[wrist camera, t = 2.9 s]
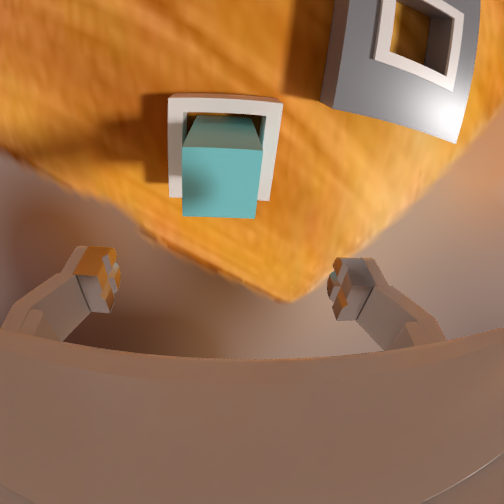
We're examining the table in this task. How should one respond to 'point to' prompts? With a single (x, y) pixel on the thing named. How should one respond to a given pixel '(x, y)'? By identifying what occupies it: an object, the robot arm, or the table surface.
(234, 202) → the plug
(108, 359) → the robot arm
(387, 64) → the socket block
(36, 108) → the table surface
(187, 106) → the white square frame
